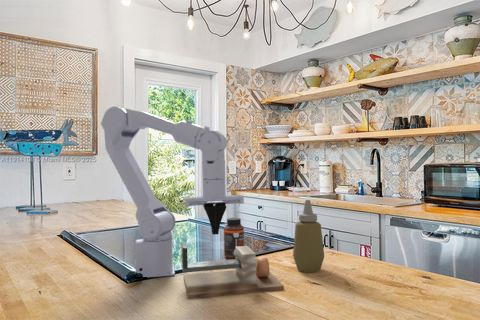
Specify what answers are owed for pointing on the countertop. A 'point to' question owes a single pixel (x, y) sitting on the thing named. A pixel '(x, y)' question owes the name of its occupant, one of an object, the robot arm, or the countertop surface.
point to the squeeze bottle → (308, 241)
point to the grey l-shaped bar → (206, 263)
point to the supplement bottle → (233, 237)
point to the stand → (231, 279)
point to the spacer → (262, 267)
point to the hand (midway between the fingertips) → (215, 233)
